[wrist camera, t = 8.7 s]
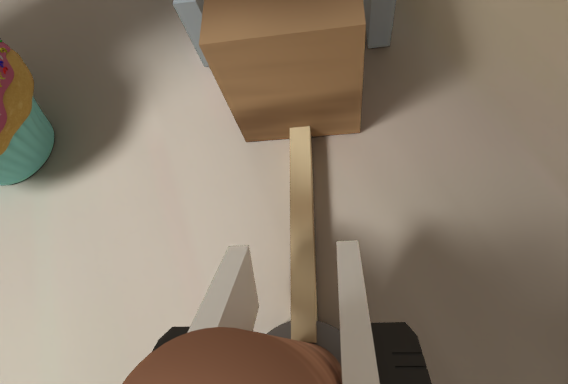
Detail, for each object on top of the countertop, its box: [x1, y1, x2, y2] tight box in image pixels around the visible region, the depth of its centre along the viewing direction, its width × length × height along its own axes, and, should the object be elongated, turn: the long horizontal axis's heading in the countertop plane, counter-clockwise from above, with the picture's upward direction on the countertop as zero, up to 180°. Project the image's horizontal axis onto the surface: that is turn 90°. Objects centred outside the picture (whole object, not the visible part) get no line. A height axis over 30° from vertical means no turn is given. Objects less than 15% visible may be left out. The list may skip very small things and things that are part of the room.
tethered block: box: [123, 0, 366, 384], centre depth 13 cm, size 20×6×12 cm, turn 0°
